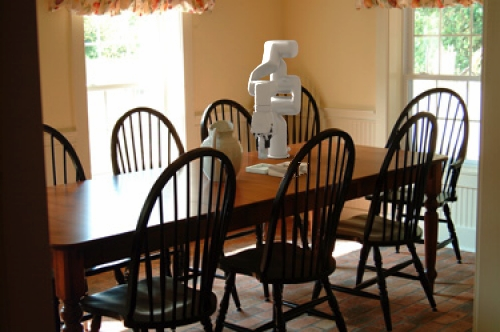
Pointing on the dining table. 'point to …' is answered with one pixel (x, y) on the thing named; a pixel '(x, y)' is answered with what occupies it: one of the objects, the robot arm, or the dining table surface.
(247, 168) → the rack tray
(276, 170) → the crumpled beige cloth
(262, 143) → the white upright block
